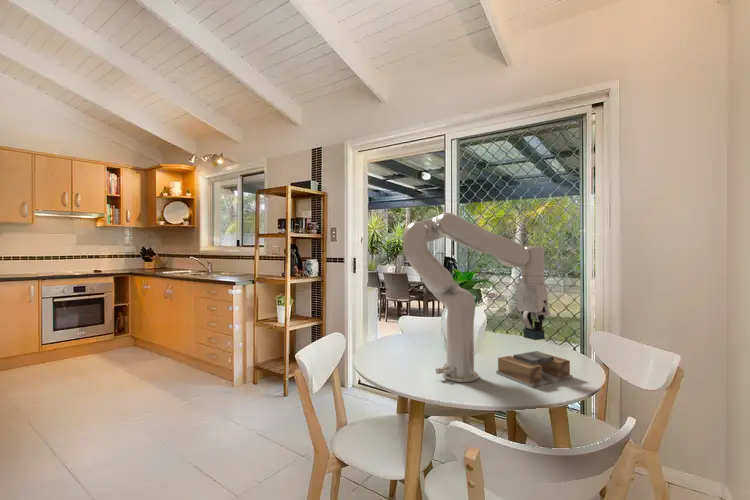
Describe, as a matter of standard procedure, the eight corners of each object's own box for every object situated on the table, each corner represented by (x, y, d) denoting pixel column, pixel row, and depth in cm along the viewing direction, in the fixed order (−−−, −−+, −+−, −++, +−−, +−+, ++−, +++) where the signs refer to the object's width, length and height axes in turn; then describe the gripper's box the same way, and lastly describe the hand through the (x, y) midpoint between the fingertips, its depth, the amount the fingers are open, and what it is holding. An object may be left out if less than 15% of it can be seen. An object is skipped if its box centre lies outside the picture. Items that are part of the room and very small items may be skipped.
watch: (549, 338, 132) (547, 307, 133) (530, 340, 129) (529, 308, 130) (537, 335, 137) (535, 305, 138) (519, 337, 135) (518, 307, 135)
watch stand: (531, 387, 122) (531, 365, 122) (496, 373, 136) (496, 353, 136) (572, 378, 130) (572, 357, 131) (535, 365, 145) (535, 347, 145)
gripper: (507, 279, 139) (508, 328, 139) (544, 282, 124) (545, 337, 124) (522, 278, 143) (523, 326, 143) (560, 281, 128) (560, 334, 128)
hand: (533, 330), depth 133 cm, fingers closed on watch, 3 cm apart
